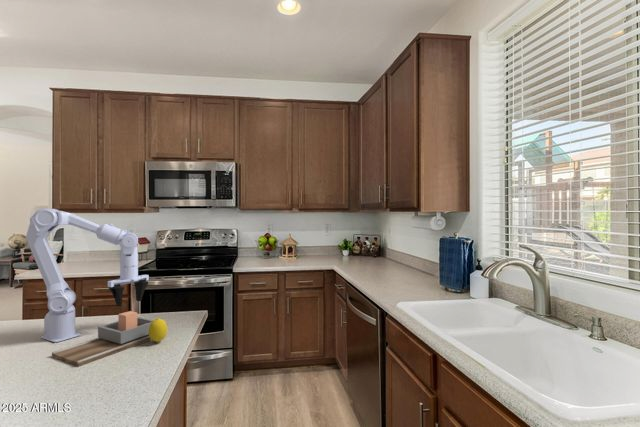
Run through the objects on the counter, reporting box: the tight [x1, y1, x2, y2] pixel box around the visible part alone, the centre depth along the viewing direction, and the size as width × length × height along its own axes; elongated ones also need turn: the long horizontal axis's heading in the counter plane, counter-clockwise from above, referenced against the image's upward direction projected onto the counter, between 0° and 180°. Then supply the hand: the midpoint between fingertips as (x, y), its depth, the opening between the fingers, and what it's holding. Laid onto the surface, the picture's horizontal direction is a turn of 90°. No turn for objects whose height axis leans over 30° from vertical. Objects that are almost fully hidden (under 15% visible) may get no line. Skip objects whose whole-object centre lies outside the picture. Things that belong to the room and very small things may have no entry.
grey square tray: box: [97, 316, 155, 344], centre depth 116 cm, size 12×13×4 cm
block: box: [117, 310, 138, 331], centre depth 116 cm, size 4×4×6 cm
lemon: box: [149, 317, 168, 344], centre depth 114 cm, size 6×6×8 cm
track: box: [51, 334, 152, 367], centre depth 111 cm, size 14×27×4 cm, turn 152°
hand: (129, 303), depth 127 cm, fingers open, 7 cm apart
